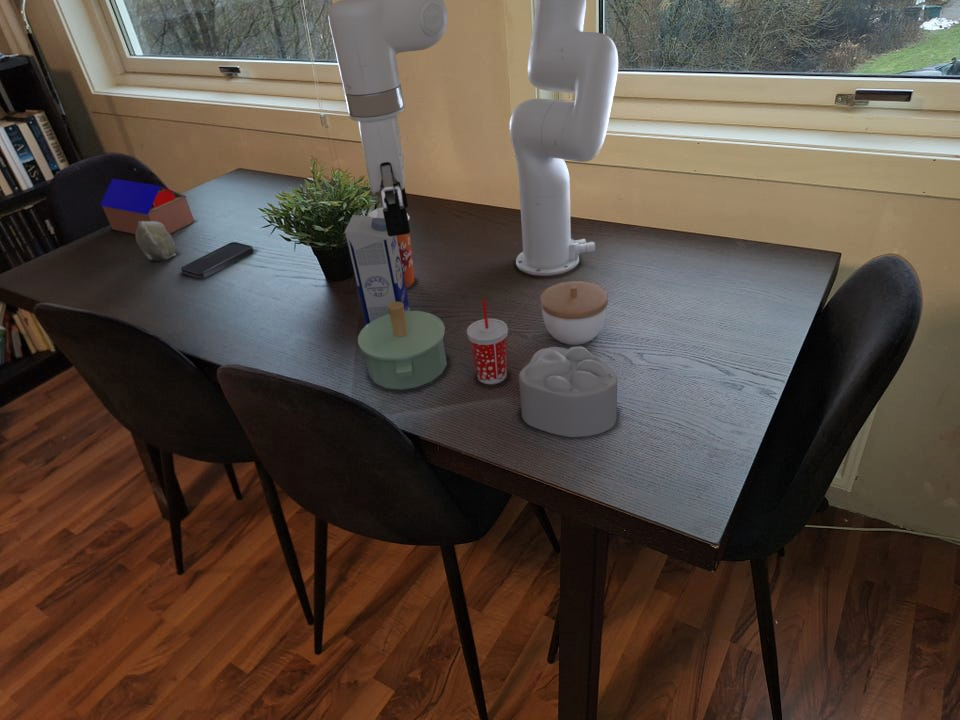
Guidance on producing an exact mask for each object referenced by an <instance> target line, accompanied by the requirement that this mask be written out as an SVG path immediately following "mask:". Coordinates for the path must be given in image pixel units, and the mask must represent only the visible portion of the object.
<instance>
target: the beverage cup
mask: <svg viewBox="0 0 960 720" xmlns="http://www.w3.org/2000/svg"><path fill="white" fill-rule="evenodd" d="M481 301H482V308H483V309H482V310H483V318H482V319H479V320H475V321H474V322H472V323H471V324H470V325H468V326H467V329H466V335H467V339H468V340H469V341H470V347H471V351H472V352H471V353H472V356H473V361H474V367H475V372H476V373H475V374H476V377H477V380H478V382H480V383H483V384H486V385H494V384H495V385H496V384H499V383H502V382H503V381H504V380H505V379H506V378H507V376H508V358H507V357H508V355H507V353H508V352H507V349H508V347H507V336H508V334H509V328H508V324H507V323H506V322H504V321H503V320H500V319H498V318H488V310H487V309H488V308H487V300H486V298H482V300H481Z"/></svg>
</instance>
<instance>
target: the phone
mask: <svg viewBox="0 0 960 720" xmlns="http://www.w3.org/2000/svg"><path fill="white" fill-rule="evenodd" d="M253 253H254V248H253V246H252V245H249V244H245V243H241V242H236V241H232V242H229V243H226V244H225V245H223V246H221V247H219V248H217V249H214V250H213V251H210V252H208V253H206V254H205V255H203V256H201V257H199V258H197V259H195V260H192V261H191V262H188V263H187V264H184V265H183V266H181V267H180V270H181V272H182V274H183V275H186V276H190V277H192V278H196V279H205V278H208V277H209V276H211V275H214V274H215V273H217V272H219V271H221V270H223V269H225V268H227V267H229V266H231V265H232V264H234V263H236V262H238V261H240V260H242V259H244V258H246V257H248V256H249V255H251V254H253Z"/></svg>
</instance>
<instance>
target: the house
mask: <svg viewBox="0 0 960 720" xmlns="http://www.w3.org/2000/svg"><path fill="white" fill-rule="evenodd" d="M187 197H188V196H186V195H184V194H182V193H179V192H177V191H174V190H171V189H169V188H167V187H164V186H161V185H156V184H150V183H143V182H137V181H131V180H125V179H117V178H112V179H111V181H110V182H109V184H108V187H107V189H106V191H105V192H104V196H103V197H102V200H101V202H100V204H99V206H101V207H102V209H103V211H104V214H105V216H106V218H107V221H108V223H109V225H110V228H111V229H112V230H114V231H119V232H124V233H129V234H133V235H135V234H136V230H137V227H138V222H139V221H145V222H147V221H156V222H160V223H162V224H164V225H165V228H166V231H167V232H168V234H170V235H171V234H172V233H174V232H176V231H179V230H180V229H182V228H184V227H186V226H188V225H191V224H193V223H195V219H194V216H193V214H192V213H193V212H192V210H191V208H190V205H189V202H188V200H187Z"/></svg>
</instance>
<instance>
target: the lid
mask: <svg viewBox="0 0 960 720" xmlns="http://www.w3.org/2000/svg"><path fill="white" fill-rule="evenodd" d="M388 309H389V314H388V315H384V316H382V317H379V318H377V319H375V320H374V321H372V322H370V323H369V324H367V325H365V326H364V327H363V328H362V329H361V330H360V332H359V334H358V335H357V336H358V337H357V344H358V348H359V349H360V351H361V352H362V353H363V355H364V354H366V355H368V356H369V357H372V358H375V359H379V360H389V361H392V360H404V359H409V358H413V357H416V356H419V355H422V354H424V353H426V352H428V351H430V350H431V349H433V348H434V347H435V346H437V345H438V344H439V343H440V342H441V340H442V339H443V340H444V337H445V334H446V327H445V324H444V322H443V320H442V319H441V318H440V317H438V316H437V315H435V314H432V313H430V312H427V311H420V310H410V311H405V309H404V304H403V303H402V302H393V303H391V304H389V305H388Z"/></svg>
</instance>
